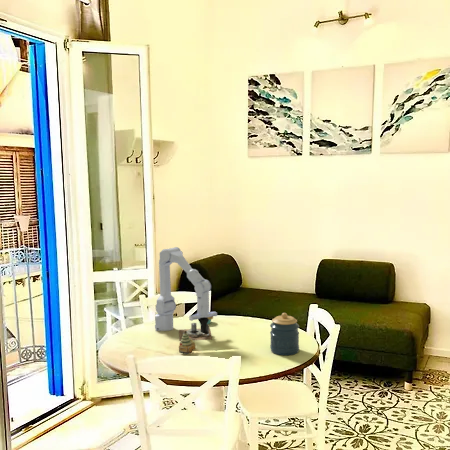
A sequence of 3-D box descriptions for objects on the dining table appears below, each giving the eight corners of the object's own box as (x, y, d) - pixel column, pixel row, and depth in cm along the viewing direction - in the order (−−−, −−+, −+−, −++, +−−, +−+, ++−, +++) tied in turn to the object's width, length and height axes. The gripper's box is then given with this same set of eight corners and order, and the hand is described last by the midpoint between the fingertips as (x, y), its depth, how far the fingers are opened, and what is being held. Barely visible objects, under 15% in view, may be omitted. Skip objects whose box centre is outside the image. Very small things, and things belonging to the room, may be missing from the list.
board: (179, 343, 233) (179, 341, 233) (179, 331, 250) (178, 329, 250) (212, 341, 234) (212, 339, 234) (209, 330, 252) (209, 328, 252)
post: (191, 335, 241) (191, 324, 240) (191, 333, 243) (191, 323, 243) (196, 335, 241) (196, 324, 241) (196, 333, 244) (196, 322, 243)
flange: (183, 335, 240) (182, 324, 240) (191, 330, 248) (191, 319, 247) (204, 338, 235) (204, 327, 234) (212, 333, 242) (212, 322, 241)
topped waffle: (185, 347, 226) (184, 327, 225) (197, 349, 224) (196, 328, 223) (177, 353, 218) (176, 332, 218) (189, 355, 216) (189, 333, 215)
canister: (280, 344, 229) (280, 307, 227) (304, 349, 220) (304, 312, 219) (264, 351, 219) (264, 313, 217) (289, 358, 210) (289, 318, 209)
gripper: (194, 309, 229) (194, 337, 230) (220, 304, 237) (220, 331, 238) (187, 306, 235) (187, 333, 236) (212, 301, 243) (213, 328, 244)
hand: (203, 332), depth 237 cm, fingers closed, pressing on flange
